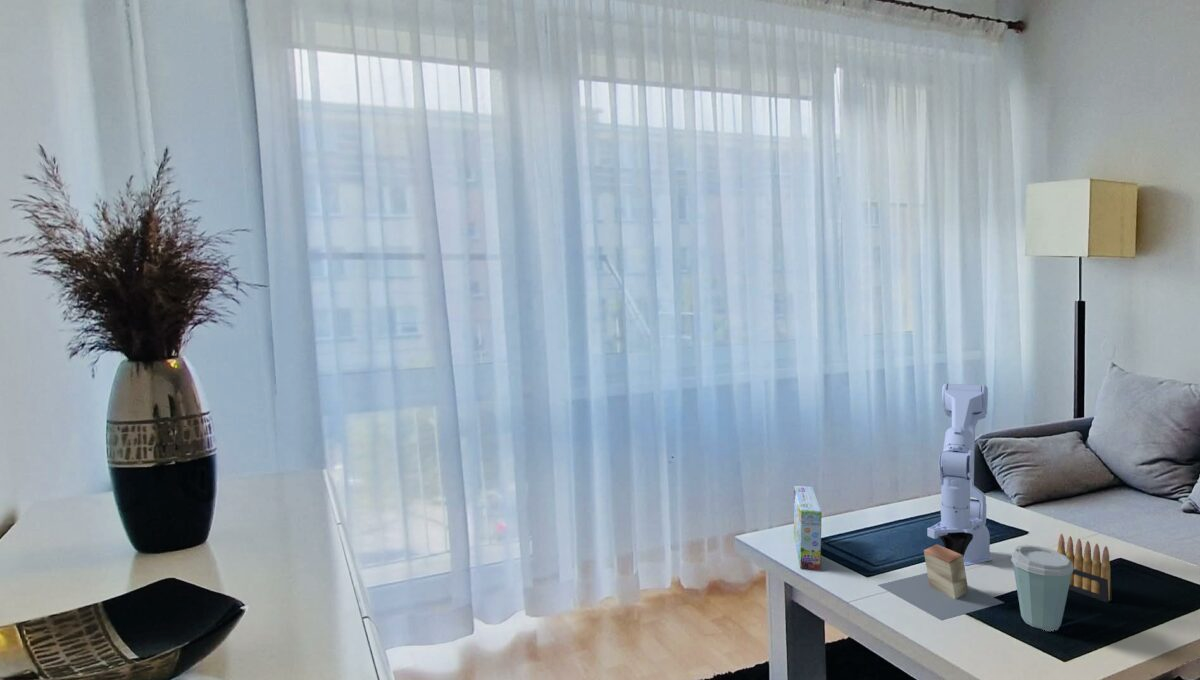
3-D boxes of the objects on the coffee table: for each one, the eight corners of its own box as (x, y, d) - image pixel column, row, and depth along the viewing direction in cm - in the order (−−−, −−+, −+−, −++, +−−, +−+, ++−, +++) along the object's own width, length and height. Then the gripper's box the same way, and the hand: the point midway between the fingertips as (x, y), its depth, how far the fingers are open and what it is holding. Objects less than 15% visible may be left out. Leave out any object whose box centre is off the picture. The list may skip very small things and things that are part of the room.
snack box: (823, 570, 166) (822, 511, 165) (799, 569, 167) (798, 510, 166) (813, 538, 187) (813, 485, 186) (792, 537, 188) (791, 484, 187)
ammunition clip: (1112, 600, 145) (1113, 546, 144) (1107, 602, 145) (1109, 548, 144) (1058, 582, 155) (1059, 531, 154) (1054, 584, 154) (1054, 533, 153)
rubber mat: (936, 572, 162) (936, 570, 162) (1004, 604, 146) (1004, 602, 146) (877, 586, 156) (877, 584, 156) (941, 622, 139) (941, 620, 139)
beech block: (942, 579, 156) (936, 544, 154) (968, 592, 149) (962, 555, 148) (929, 586, 154) (923, 550, 153) (955, 599, 148) (949, 561, 147)
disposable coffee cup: (1069, 617, 139) (1070, 547, 138) (1076, 643, 130) (1078, 567, 128) (1009, 607, 144) (1010, 539, 143) (1011, 631, 135) (1012, 558, 133)
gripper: (945, 515, 145) (945, 576, 146) (995, 505, 150) (994, 564, 151) (919, 505, 151) (919, 564, 152) (967, 496, 156) (967, 552, 157)
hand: (955, 563), depth 152 cm, fingers closed
